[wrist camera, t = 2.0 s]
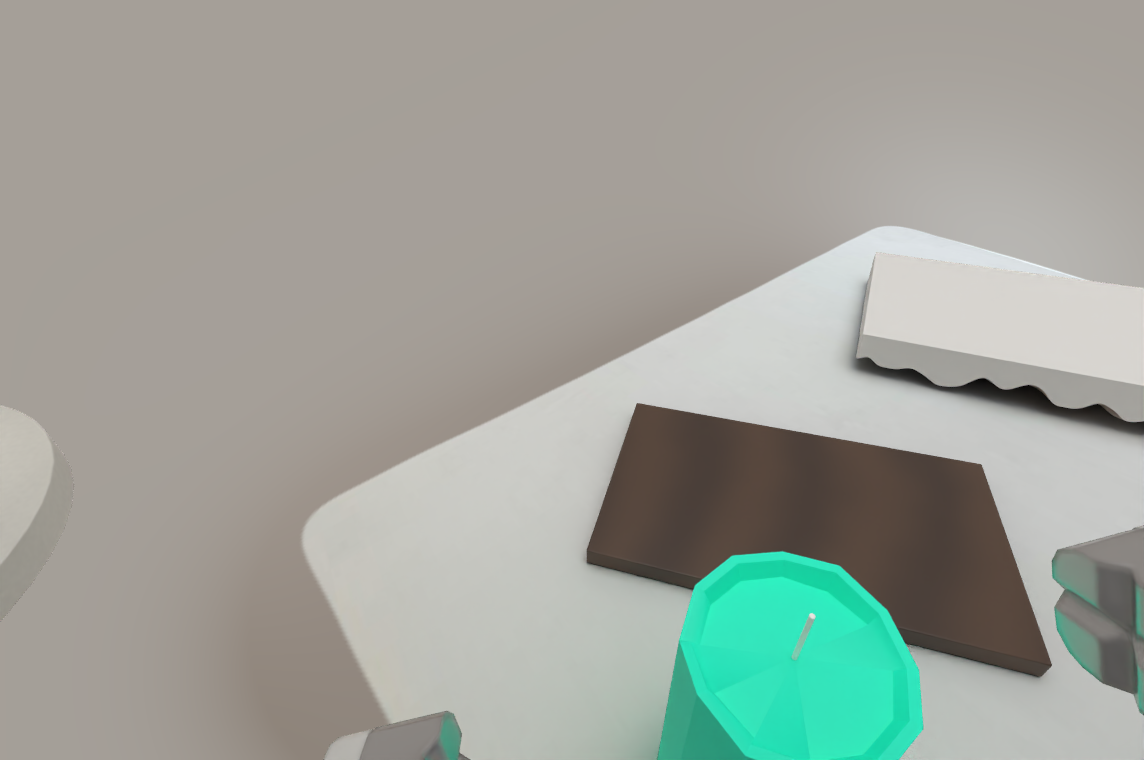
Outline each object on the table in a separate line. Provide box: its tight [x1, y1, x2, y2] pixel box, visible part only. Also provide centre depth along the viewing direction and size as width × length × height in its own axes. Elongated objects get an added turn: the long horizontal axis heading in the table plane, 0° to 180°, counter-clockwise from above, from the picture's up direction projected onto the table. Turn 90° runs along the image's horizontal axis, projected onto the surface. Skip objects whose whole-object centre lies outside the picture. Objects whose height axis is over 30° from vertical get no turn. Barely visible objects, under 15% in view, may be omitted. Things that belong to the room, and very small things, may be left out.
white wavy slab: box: [856, 252, 1144, 422], centre depth 43 cm, size 15×3×20 cm
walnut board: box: [587, 403, 1052, 676], centre depth 31 cm, size 20×12×1 cm, turn 73°
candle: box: [657, 551, 923, 760], centre depth 18 cm, size 6×6×12 cm
